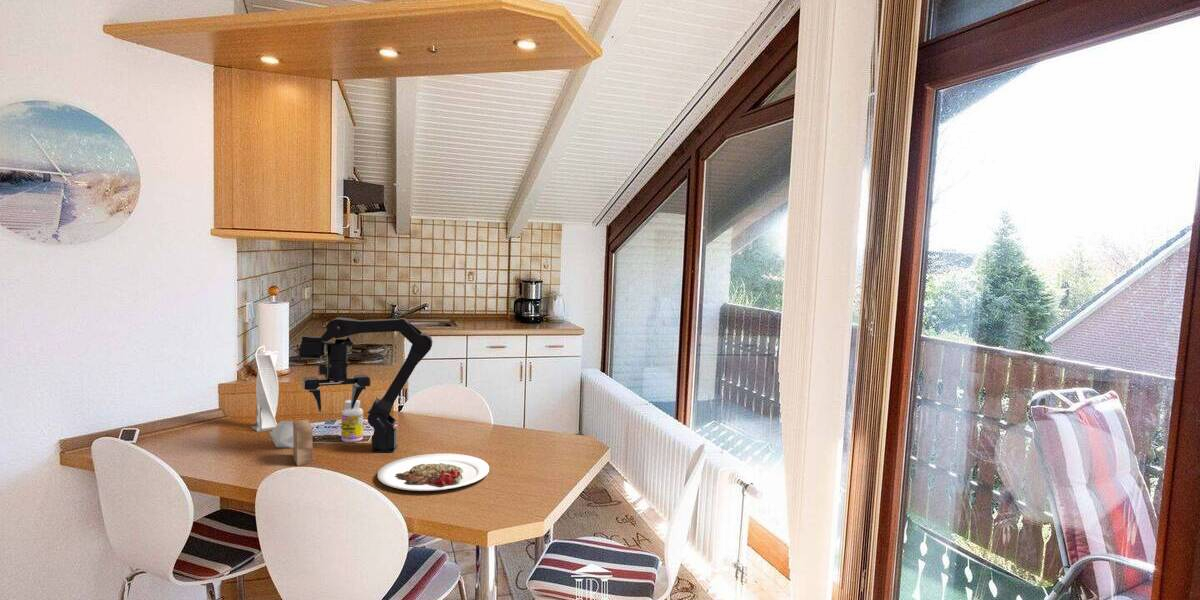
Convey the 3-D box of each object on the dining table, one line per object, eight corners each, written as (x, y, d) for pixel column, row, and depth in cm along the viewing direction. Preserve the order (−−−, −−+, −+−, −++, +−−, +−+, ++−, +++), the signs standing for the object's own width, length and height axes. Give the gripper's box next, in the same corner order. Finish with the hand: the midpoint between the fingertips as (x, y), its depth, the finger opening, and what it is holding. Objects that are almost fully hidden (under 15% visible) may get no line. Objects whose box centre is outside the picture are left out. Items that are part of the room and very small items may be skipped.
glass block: (308, 455, 195) (307, 419, 194) (312, 464, 187) (312, 426, 186) (293, 457, 193) (293, 421, 192) (297, 466, 185) (297, 428, 184)
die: (281, 454, 197) (302, 427, 200) (259, 438, 198) (280, 412, 201) (292, 455, 205) (312, 430, 208) (271, 440, 206) (291, 415, 209)
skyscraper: (250, 426, 224) (249, 346, 222) (275, 423, 230) (274, 344, 228) (257, 432, 218) (256, 349, 216) (282, 428, 223) (282, 347, 222)
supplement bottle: (337, 441, 209) (336, 402, 209) (349, 436, 216) (349, 398, 215) (355, 443, 208) (355, 404, 207) (367, 438, 214) (367, 399, 213)
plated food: (422, 454, 199) (422, 443, 199) (508, 468, 189) (508, 456, 188) (352, 485, 172) (352, 473, 171) (448, 503, 161) (448, 490, 160)
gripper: (363, 354, 209) (362, 402, 210) (300, 356, 199) (298, 406, 200) (371, 359, 199) (370, 409, 200) (305, 362, 189) (304, 414, 190)
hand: (336, 409), depth 198 cm, fingers open, 9 cm apart
